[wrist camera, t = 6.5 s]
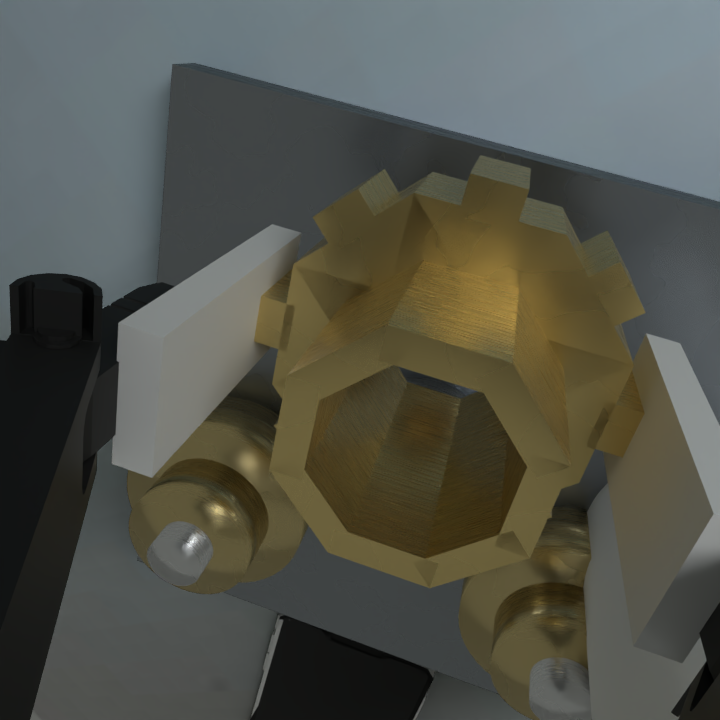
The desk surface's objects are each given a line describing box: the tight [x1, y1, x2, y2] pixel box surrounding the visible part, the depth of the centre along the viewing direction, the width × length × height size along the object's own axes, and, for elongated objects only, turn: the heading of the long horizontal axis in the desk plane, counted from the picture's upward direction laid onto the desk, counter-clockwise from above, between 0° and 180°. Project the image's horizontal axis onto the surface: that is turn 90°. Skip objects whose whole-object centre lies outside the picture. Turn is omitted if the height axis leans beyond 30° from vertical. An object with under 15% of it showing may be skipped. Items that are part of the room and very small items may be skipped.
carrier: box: [127, 63, 720, 720], centre depth 23 cm, size 22×22×7 cm
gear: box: [254, 155, 646, 588], centre depth 13 cm, size 8×8×6 cm
